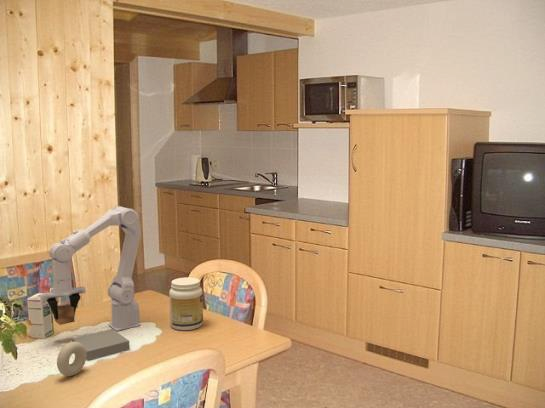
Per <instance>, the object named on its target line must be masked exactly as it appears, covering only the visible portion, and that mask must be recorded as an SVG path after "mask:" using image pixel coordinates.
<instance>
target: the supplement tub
mask: <svg viewBox="0 0 545 408" xmlns="http://www.w3.org/2000/svg"><path fill="white" fill-rule="evenodd" d="M170 286H171V288H170V289H169V293H168V294H169V323H170V326H171V327H172V328H173V329H174V330H179V331H191V330H195V329H199V328H200V327H201V326H202V325H203V324H204V304H203V303H204V301H203V300H204V299H203V288H202V287H201V281H200V279H199V278H196V277H190V276H189V277H178V278H175V279H173V280H171V284H170Z"/></svg>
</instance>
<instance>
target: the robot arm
mask: <svg viewBox="0 0 545 408" xmlns="http://www.w3.org/2000/svg"><path fill="white" fill-rule="evenodd" d="M110 226H111V227H113V226H116V227H117V226H118V227H120V229H122V231H123V232H124V233H125V235H124V240H123V242H122V243H123V245H122V248H121V253H120V258H119V263H118V268H117V273H116V275H115V276H114V277H113V279H112V281H111V284H110V285H109V287H108V289H107V295H108V296H109V298H110V299H111V300H110V301H111V302H110V303H111V304H110V305H111V306H110V307H111V319H112V320H111V322H110V323H108V324H107V326H109V327H111V329H114V330H115V331H116V332H118V331H122V330H126V329H131V328H134V327H138V326H139V327H140V326H141V321H140V305H139V303H138V301H137V300H136V299H134V298H135V294H136V293H135V283H134V281H133V273H134V270H135V269H134V268H135V264H136V260H137V254H138V250H139V245H140V239H141V236H142V234H141V233H142V227H141V223H140V214H138V213H137V212H136V210H135V209H133V208H128V207H123V206H120V205H117V206H114V207H113V208H112V209H109V210H107V212H106V213H104V214H103V216H101V217H99V218H98V219H97V220H96V221H94V222H93V223H92V224H90V225H89V226H88V227H86V228H85V229H74V230H73V231H72V234H70V235H69V236H68V237H67V236H66V238H62V239H61V240H60V242H56V243H53V244H52V245H51V247H50V249H49V251H48V255H49V257H50V258H51V260H52V279H53V280H52V283H53V290H51V291H48V292H45V293H44V292H43V293H44V294H40V300H41V301H45V300H47V302H48V304H49V305H50V307H51V310H52V313H53V320H55V319H56V320H57V319H58V311H57V309H58V306H59V302H58V300H57V299H58V298H64V297H69V304H70V305H71V306H72V307H74V317H76V310H77V307H78V304H79V302H80V299H81V295H80V294H82V295H83V294H86V287H85V286H77V287H73V285H72V284H73V283H72V267H71V259H72V258H73V255H74V254H76V253H77V252H78V251H80V250H81V249H82V248H84V247H85V246H87V245H89V243H90V242H91V239H92V237H95V236H96V235H97V234H100V232H101V231H104V230H105V229H107V228H108V227H110Z"/></svg>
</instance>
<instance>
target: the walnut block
mask: <svg viewBox="0 0 545 408" xmlns="http://www.w3.org/2000/svg"><path fill="white" fill-rule="evenodd" d="M57 311H58V319H57V320H56V319H54V321H55V323H57V324H58V325H59V326H61V325H66V324H69V323H75V322H76V321H75V316H74V307H72V306H71V305H70V303H68V304H61V305H58V309H57Z"/></svg>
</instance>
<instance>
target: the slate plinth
mask: <svg viewBox="0 0 545 408" xmlns="http://www.w3.org/2000/svg"><path fill="white" fill-rule="evenodd" d="M71 342H79V343H81V344H82V345H83V346H84V347H85V349H86V353H87V354H86V362H87V361H92V360H96V359H99V358H102V357H107V356H111V355H114V354H118V353H122V352H126V351H129V350H130V349H131V347H130V340H129V339H127V338H126V337H125V336H123V335H122V334H121V333H119V332H118V331H116V330H114V329H113V328H110V329H106V330H101V331H97V332H92V333H89V334H88V333H87V334H84V335H80V336H76V337H72V338H71Z"/></svg>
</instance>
